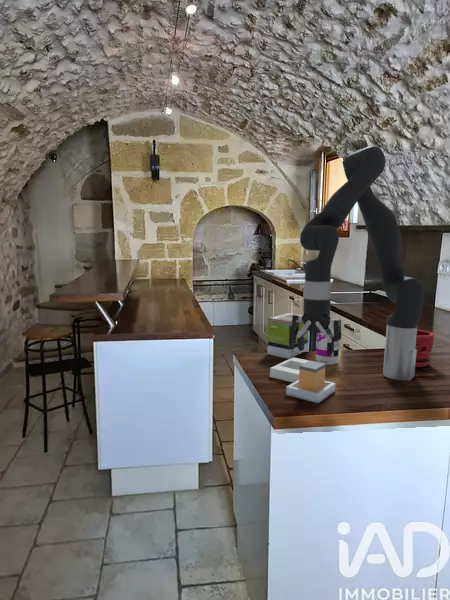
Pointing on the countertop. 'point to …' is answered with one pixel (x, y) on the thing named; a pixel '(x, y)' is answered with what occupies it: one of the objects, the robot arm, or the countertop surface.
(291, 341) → the tea box
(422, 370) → the countertop surface
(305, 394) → the tray
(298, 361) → the bay
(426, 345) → the plant pot
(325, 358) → the supplement can
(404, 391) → the countertop surface
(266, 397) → the countertop surface
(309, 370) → the orange grey block
